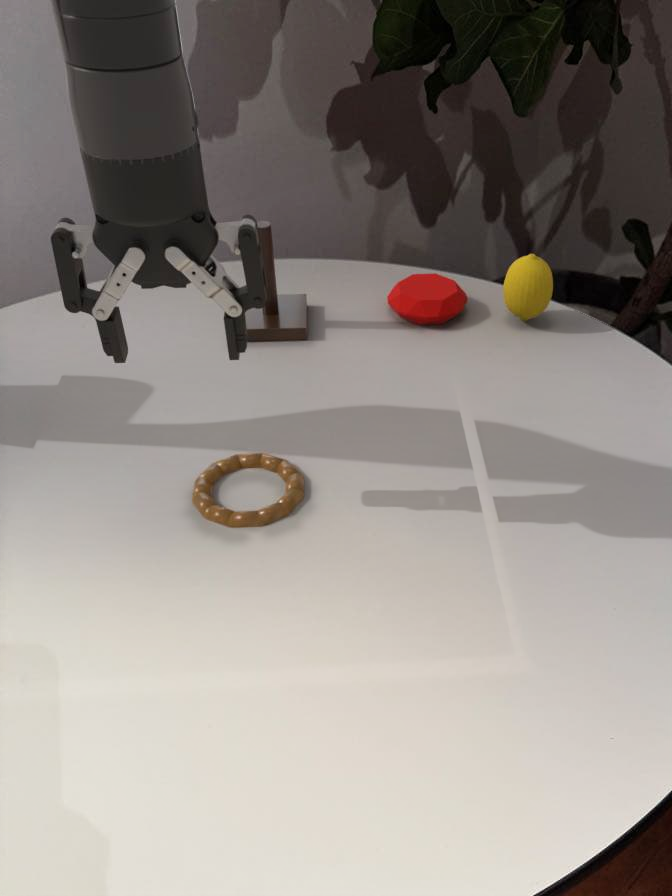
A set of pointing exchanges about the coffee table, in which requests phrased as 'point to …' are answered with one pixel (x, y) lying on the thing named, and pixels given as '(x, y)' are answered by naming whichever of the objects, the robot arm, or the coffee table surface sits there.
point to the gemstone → (427, 298)
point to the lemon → (528, 287)
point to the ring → (248, 518)
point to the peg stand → (276, 303)
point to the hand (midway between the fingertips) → (179, 356)
